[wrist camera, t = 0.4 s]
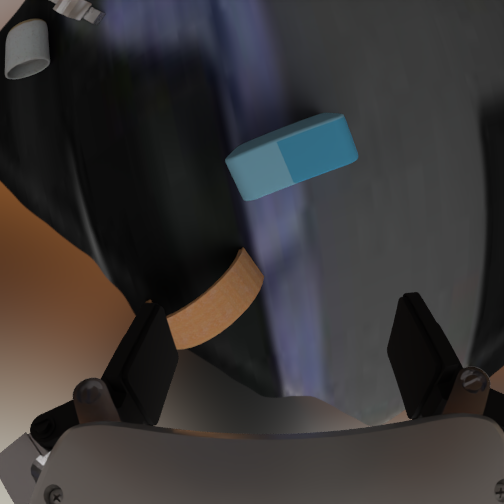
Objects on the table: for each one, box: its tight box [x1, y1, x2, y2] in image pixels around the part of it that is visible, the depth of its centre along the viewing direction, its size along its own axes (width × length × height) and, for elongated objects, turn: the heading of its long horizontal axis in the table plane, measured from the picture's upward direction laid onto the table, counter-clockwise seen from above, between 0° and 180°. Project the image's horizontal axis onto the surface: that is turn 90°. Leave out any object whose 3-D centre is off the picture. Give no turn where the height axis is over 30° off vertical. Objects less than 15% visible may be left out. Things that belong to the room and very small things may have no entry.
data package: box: [225, 113, 358, 201], centre depth 31 cm, size 12×4×12 cm, turn 114°
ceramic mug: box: [5, 19, 50, 79], centre depth 27 cm, size 11×8×8 cm
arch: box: [145, 247, 264, 349], centre depth 43 cm, size 6×20×10 cm, turn 122°
